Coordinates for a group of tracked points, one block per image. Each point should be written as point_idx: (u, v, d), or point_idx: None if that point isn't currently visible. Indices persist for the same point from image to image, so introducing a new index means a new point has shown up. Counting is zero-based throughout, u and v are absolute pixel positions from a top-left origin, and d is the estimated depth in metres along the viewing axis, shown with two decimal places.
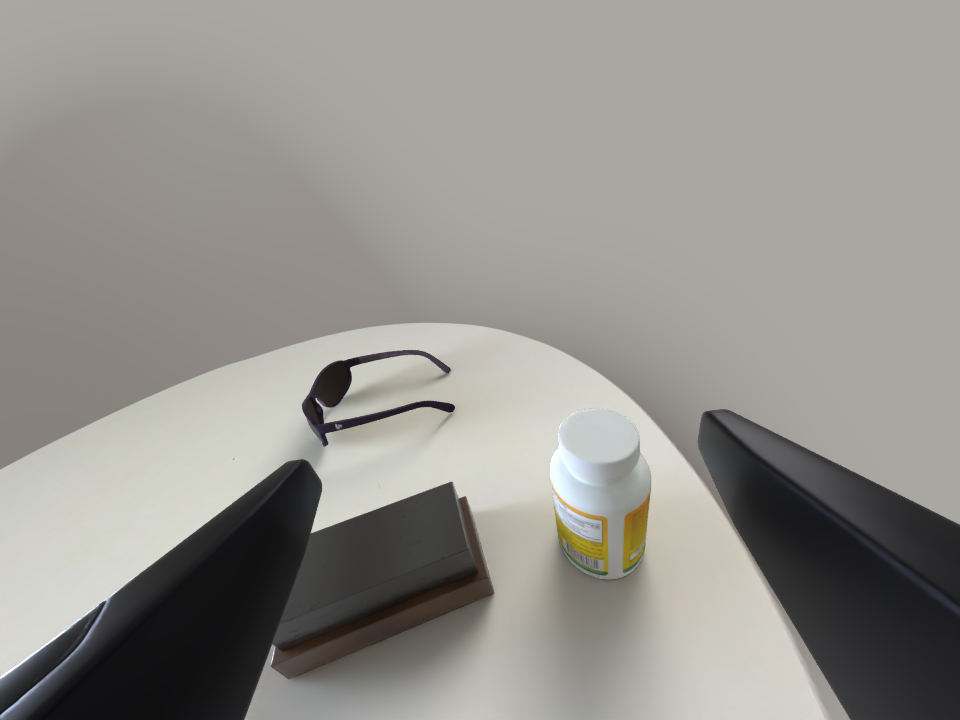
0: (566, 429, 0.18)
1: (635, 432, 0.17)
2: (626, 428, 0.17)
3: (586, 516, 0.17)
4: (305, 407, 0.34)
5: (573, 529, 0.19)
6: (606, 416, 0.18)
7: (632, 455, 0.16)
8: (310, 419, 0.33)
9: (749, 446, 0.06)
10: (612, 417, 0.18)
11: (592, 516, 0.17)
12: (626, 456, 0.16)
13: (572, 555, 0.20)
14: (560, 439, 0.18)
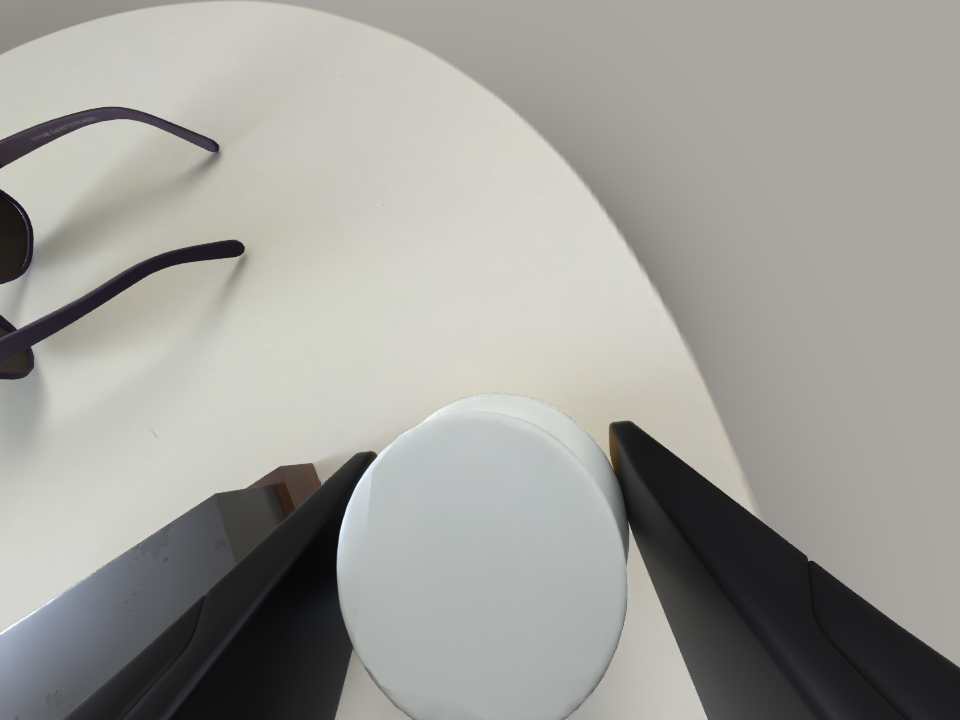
0: (362, 543, 0.05)
1: (612, 555, 0.04)
2: (578, 531, 0.04)
3: None
4: None
5: None
6: (504, 459, 0.05)
7: (599, 678, 0.04)
8: None
9: (634, 458, 0.06)
10: (526, 466, 0.05)
11: None
12: (578, 703, 0.04)
13: None
14: (341, 600, 0.05)
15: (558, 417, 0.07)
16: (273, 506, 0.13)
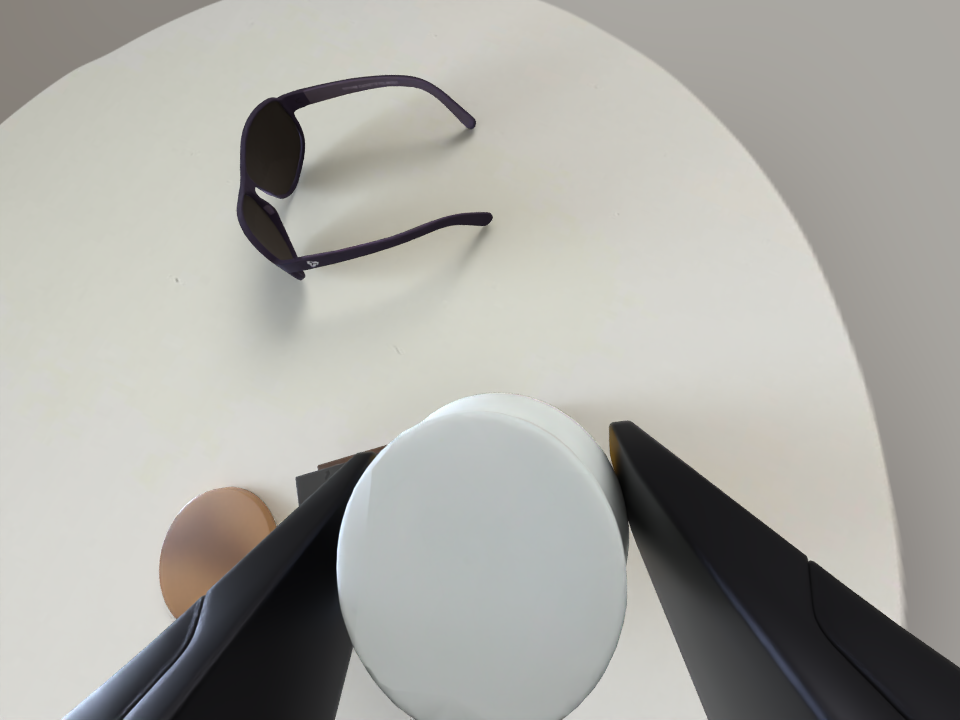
0: (361, 542, 0.05)
1: (612, 554, 0.04)
2: (577, 529, 0.04)
3: None
4: (245, 224, 0.20)
5: None
6: (504, 458, 0.05)
7: (599, 677, 0.04)
8: (262, 251, 0.20)
9: (634, 458, 0.06)
10: (527, 465, 0.05)
11: None
12: (577, 702, 0.04)
13: None
14: (341, 598, 0.05)
15: (558, 416, 0.07)
16: None
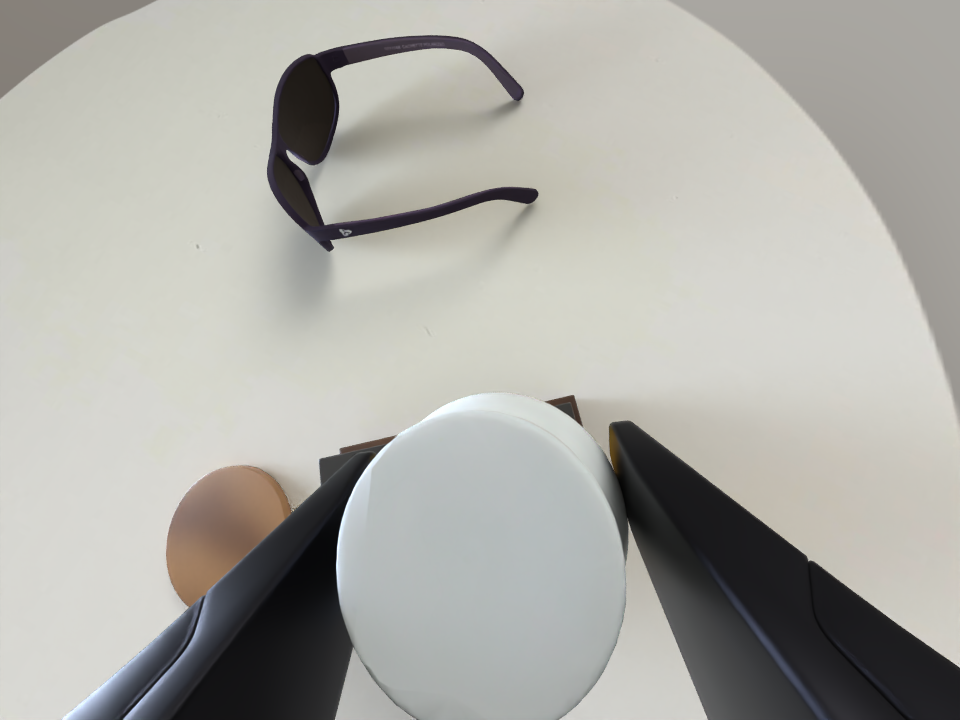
0: (361, 541, 0.05)
1: (611, 553, 0.04)
2: (577, 528, 0.04)
3: None
4: (275, 185, 0.19)
5: None
6: (503, 457, 0.05)
7: (598, 675, 0.04)
8: (293, 215, 0.19)
9: (634, 458, 0.06)
10: (526, 463, 0.05)
11: None
12: (577, 699, 0.04)
13: None
14: (341, 597, 0.05)
15: (558, 416, 0.07)
16: None
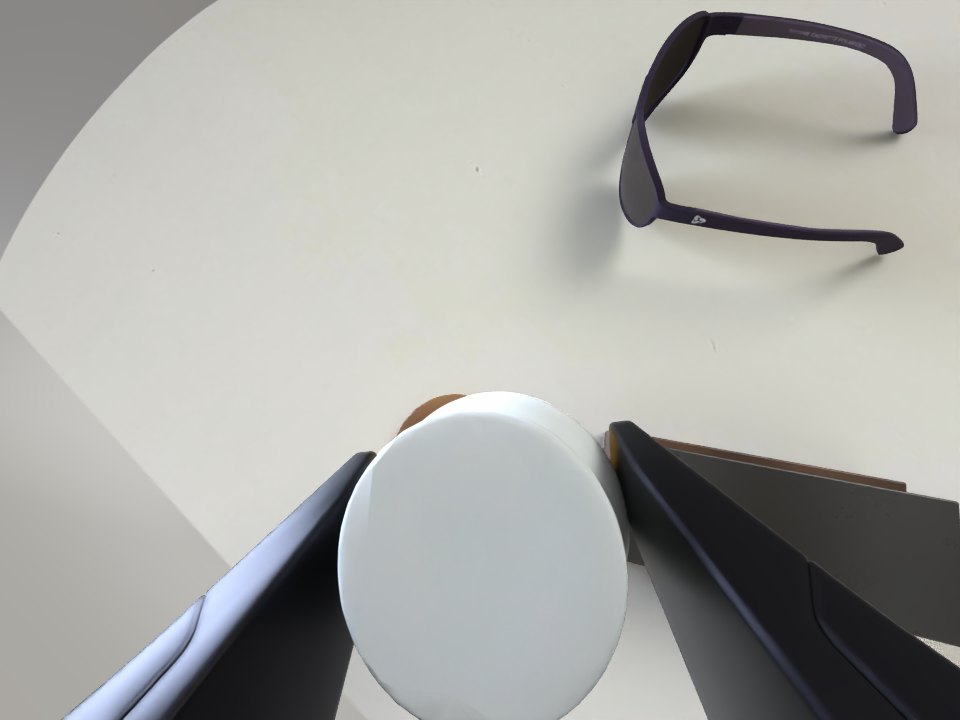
0: (362, 540, 0.05)
1: (613, 552, 0.04)
2: (578, 528, 0.04)
3: None
4: (648, 146, 0.18)
5: None
6: (505, 457, 0.05)
7: (600, 674, 0.04)
8: (657, 185, 0.18)
9: (634, 458, 0.06)
10: (528, 463, 0.05)
11: None
12: (579, 700, 0.04)
13: None
14: (342, 597, 0.05)
15: (559, 415, 0.07)
16: None
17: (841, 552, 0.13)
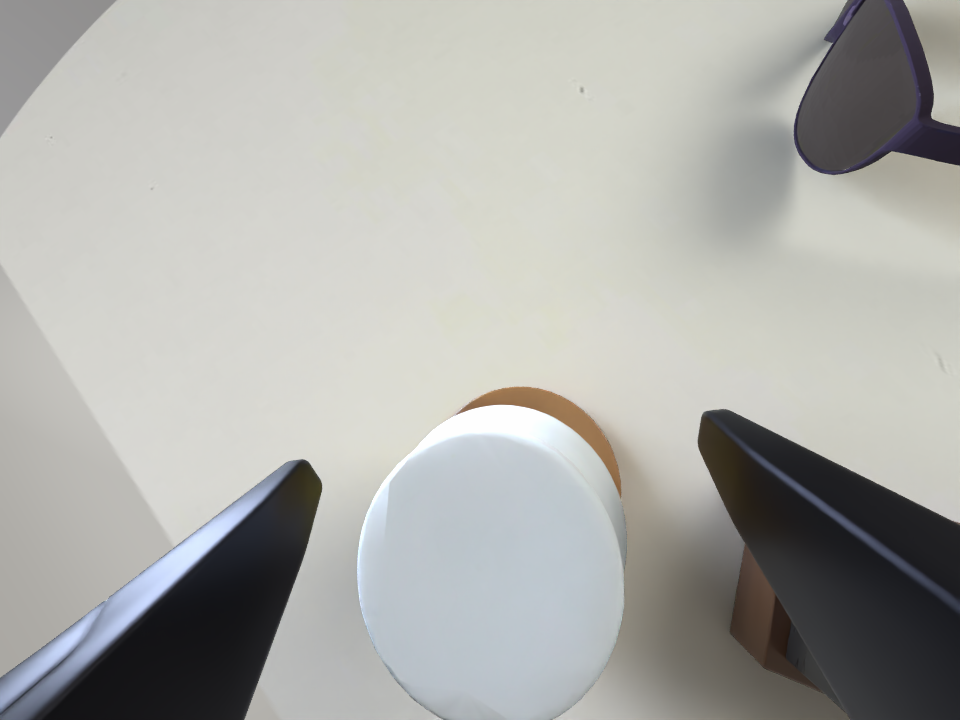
0: (380, 550, 0.05)
1: (611, 561, 0.05)
2: (579, 539, 0.05)
3: None
4: (912, 28, 0.11)
5: None
6: (511, 473, 0.05)
7: (599, 672, 0.04)
8: (924, 89, 0.11)
9: (749, 446, 0.06)
10: (532, 479, 0.05)
11: None
12: (580, 696, 0.04)
13: None
14: (362, 602, 0.05)
15: (559, 428, 0.07)
16: None
17: None
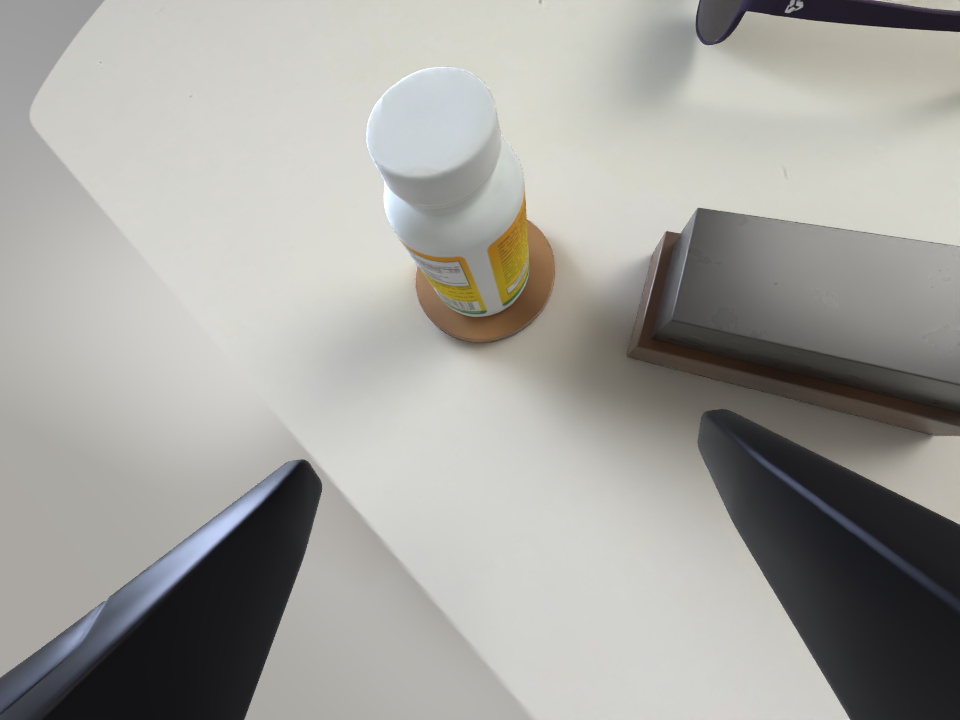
0: (378, 123, 0.10)
1: (489, 104, 0.10)
2: (475, 99, 0.10)
3: (438, 260, 0.13)
4: None
5: (434, 277, 0.14)
6: (445, 82, 0.10)
7: (482, 150, 0.09)
8: None
9: (749, 446, 0.06)
10: (454, 82, 0.10)
11: (445, 259, 0.12)
12: (471, 155, 0.09)
13: (447, 302, 0.17)
14: (368, 145, 0.10)
15: None
16: None
17: (933, 314, 0.11)
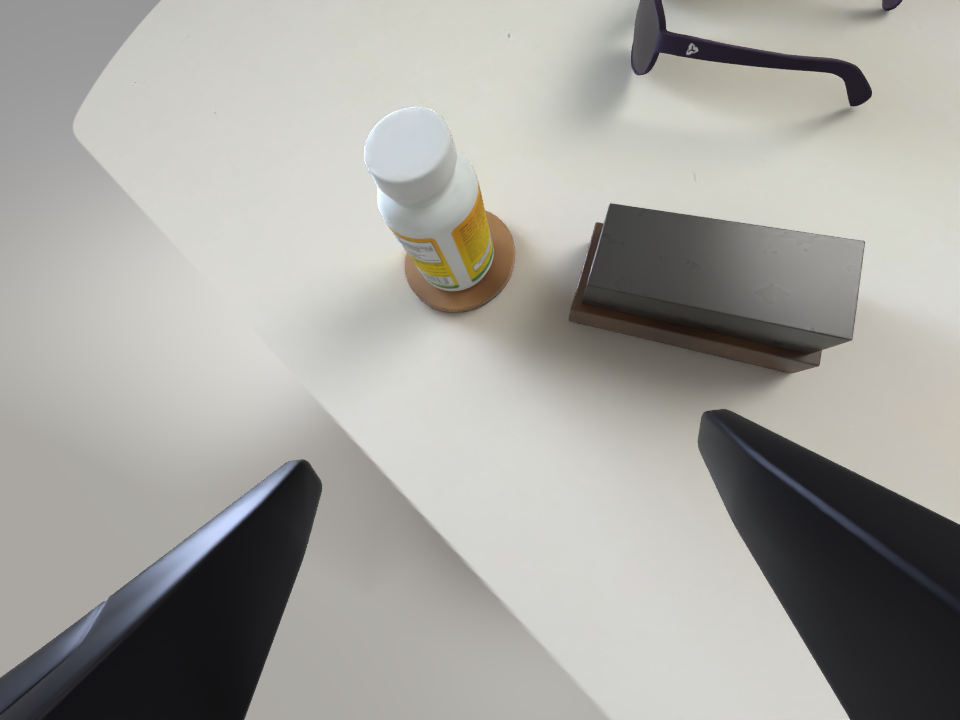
0: (372, 145, 0.15)
1: (446, 133, 0.14)
2: (437, 129, 0.15)
3: (416, 241, 0.17)
4: None
5: (415, 256, 0.19)
6: (417, 117, 0.15)
7: (440, 164, 0.14)
8: (660, 13, 0.21)
9: (749, 446, 0.06)
10: (423, 117, 0.15)
11: (421, 240, 0.17)
12: (433, 167, 0.14)
13: (428, 278, 0.22)
14: (365, 160, 0.15)
15: None
16: None
17: (763, 276, 0.16)
